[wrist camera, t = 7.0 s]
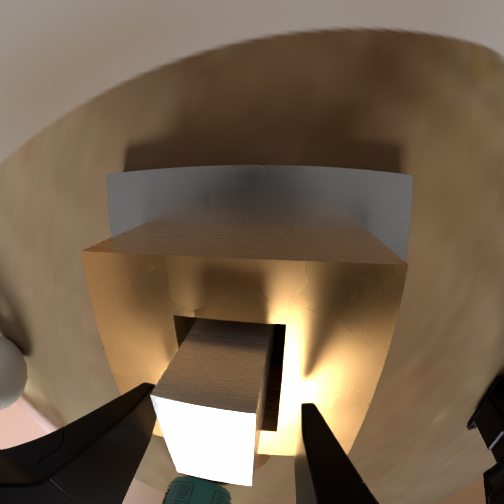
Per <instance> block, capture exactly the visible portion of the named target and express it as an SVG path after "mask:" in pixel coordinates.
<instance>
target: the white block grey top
mask: <svg viewBox="0 0 504 504" xmlns="http://www.w3.org/2000/svg"><path fill="white" fill-rule="evenodd" d="M275 327H276V324H271V323H254V322H240V321H228V320H216V319H206V318H198V319H197V321H196V322H195V324H194V325H193V327H192V328H191V330H190V332H189V333H188V335H187V336H186V338H185V340H184V341H183V343H182V344H181V346H180V348H179V349H178V351H177V352H176V354H175V356H174V357H173V359H172V360H171V362H170V364H169V365H168V367H167V368H166V370H165V372H164V373H163V375H162V376H161V378H160V380H159V381H158V383H157V385H156V386H155V388H154V389H153V391H152V393H151V394H150V396H151V399H152V403H153V406H154V409H155V412H156V415H157V418H158V421H159V424H160V427H161V430H162V433H163V436H164V439H165V441H166V444H167V447H168V449H169V452H170V455H171V457H172V460H173V462H174V465H175V467H176V469H177V472H179V473H183V474H187V475H191V476H196V477H200V478H205V479H210V480H215V481H220V482H226V483H233V484H239V485H247V486H252V481H253V476H254V471H255V465H256V459H257V453H258V448H259V442H260V436H261V429H262V423H263V417H264V410H265V404H266V397H267V391H268V384H269V377H270V370H271V362H272V355H273V347H274V340H275Z"/></svg>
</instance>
